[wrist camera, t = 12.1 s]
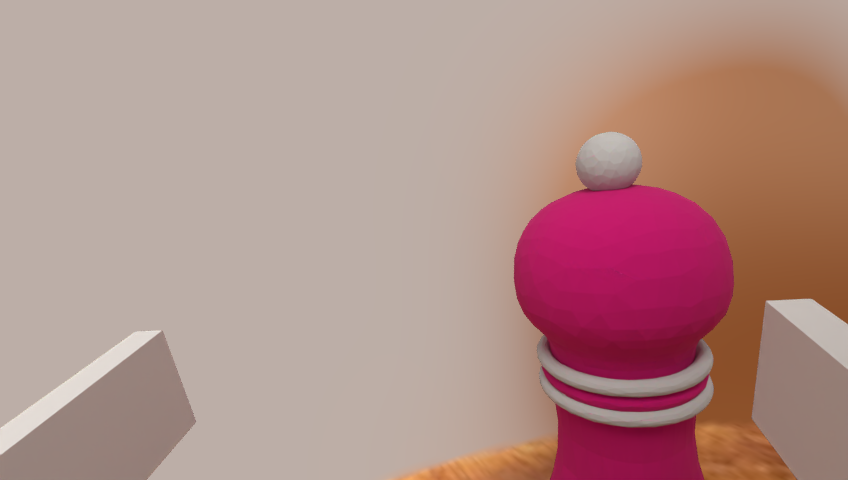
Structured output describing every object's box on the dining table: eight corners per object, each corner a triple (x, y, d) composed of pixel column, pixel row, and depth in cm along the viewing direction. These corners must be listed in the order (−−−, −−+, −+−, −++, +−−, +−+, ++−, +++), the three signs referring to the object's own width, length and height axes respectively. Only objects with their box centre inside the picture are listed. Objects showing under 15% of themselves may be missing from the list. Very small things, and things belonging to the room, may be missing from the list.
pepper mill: (797, 699, 16) (818, 103, 12) (680, 896, 12) (652, 133, 8) (613, 555, 22) (585, 132, 18) (499, 657, 18) (432, 156, 14)
